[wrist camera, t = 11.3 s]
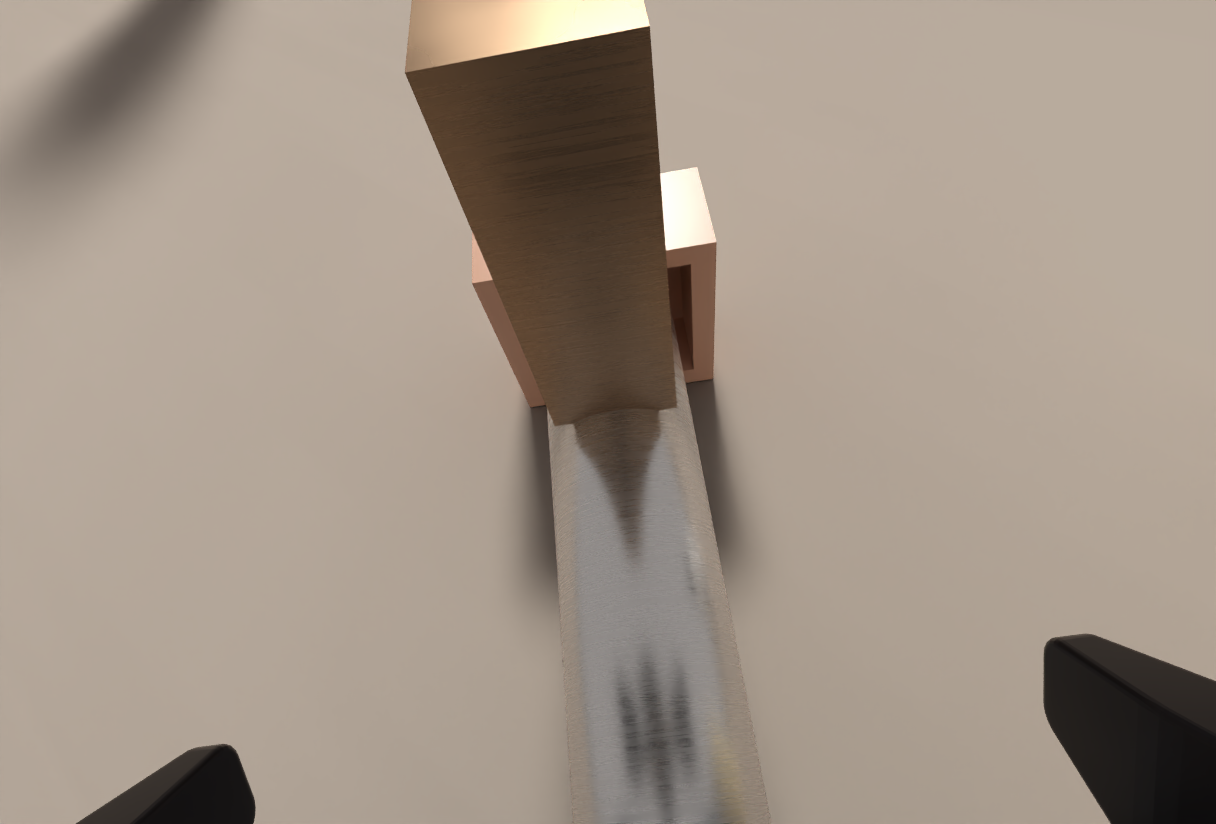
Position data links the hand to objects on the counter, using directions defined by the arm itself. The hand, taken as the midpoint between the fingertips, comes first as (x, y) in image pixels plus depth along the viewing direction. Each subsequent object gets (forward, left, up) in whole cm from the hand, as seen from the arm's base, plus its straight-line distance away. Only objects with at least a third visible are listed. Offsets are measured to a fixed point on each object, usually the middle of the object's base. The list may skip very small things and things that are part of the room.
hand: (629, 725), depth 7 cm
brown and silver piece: (+2, +2, -8) cm, 9 cm away
